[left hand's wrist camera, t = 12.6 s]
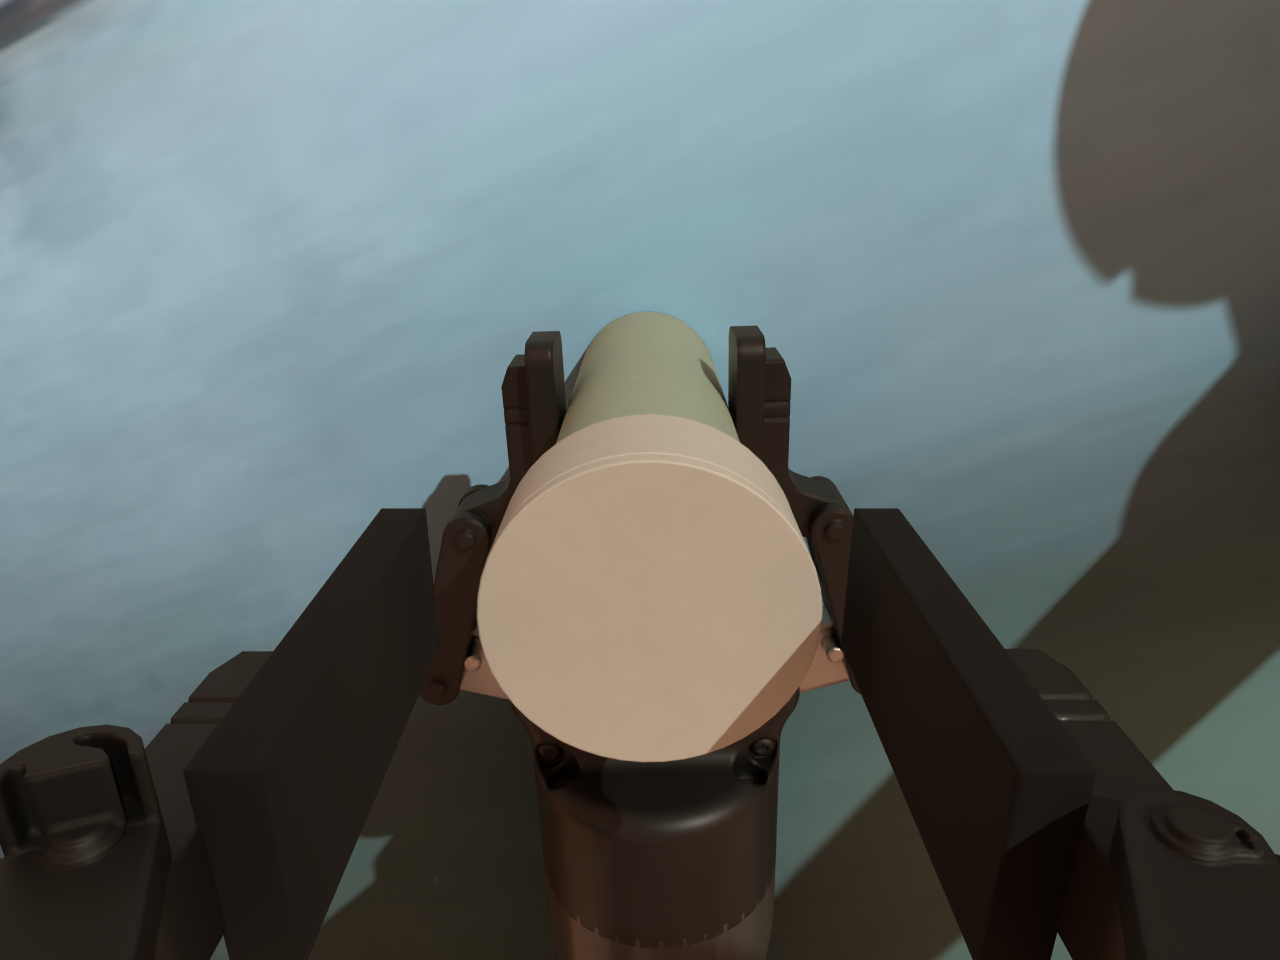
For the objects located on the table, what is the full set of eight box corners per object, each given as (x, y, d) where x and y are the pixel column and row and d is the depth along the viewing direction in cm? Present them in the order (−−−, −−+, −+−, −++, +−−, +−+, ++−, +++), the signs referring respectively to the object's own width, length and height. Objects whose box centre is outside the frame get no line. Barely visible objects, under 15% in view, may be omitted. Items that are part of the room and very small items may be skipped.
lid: (738, 708, 16) (753, 795, 14) (472, 638, 16) (443, 717, 14) (841, 463, 14) (877, 518, 12) (543, 374, 14) (523, 415, 12)
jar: (689, 457, 29) (734, 750, 14) (565, 420, 28) (482, 685, 14) (732, 334, 27) (829, 525, 13) (601, 294, 27) (550, 444, 12)
